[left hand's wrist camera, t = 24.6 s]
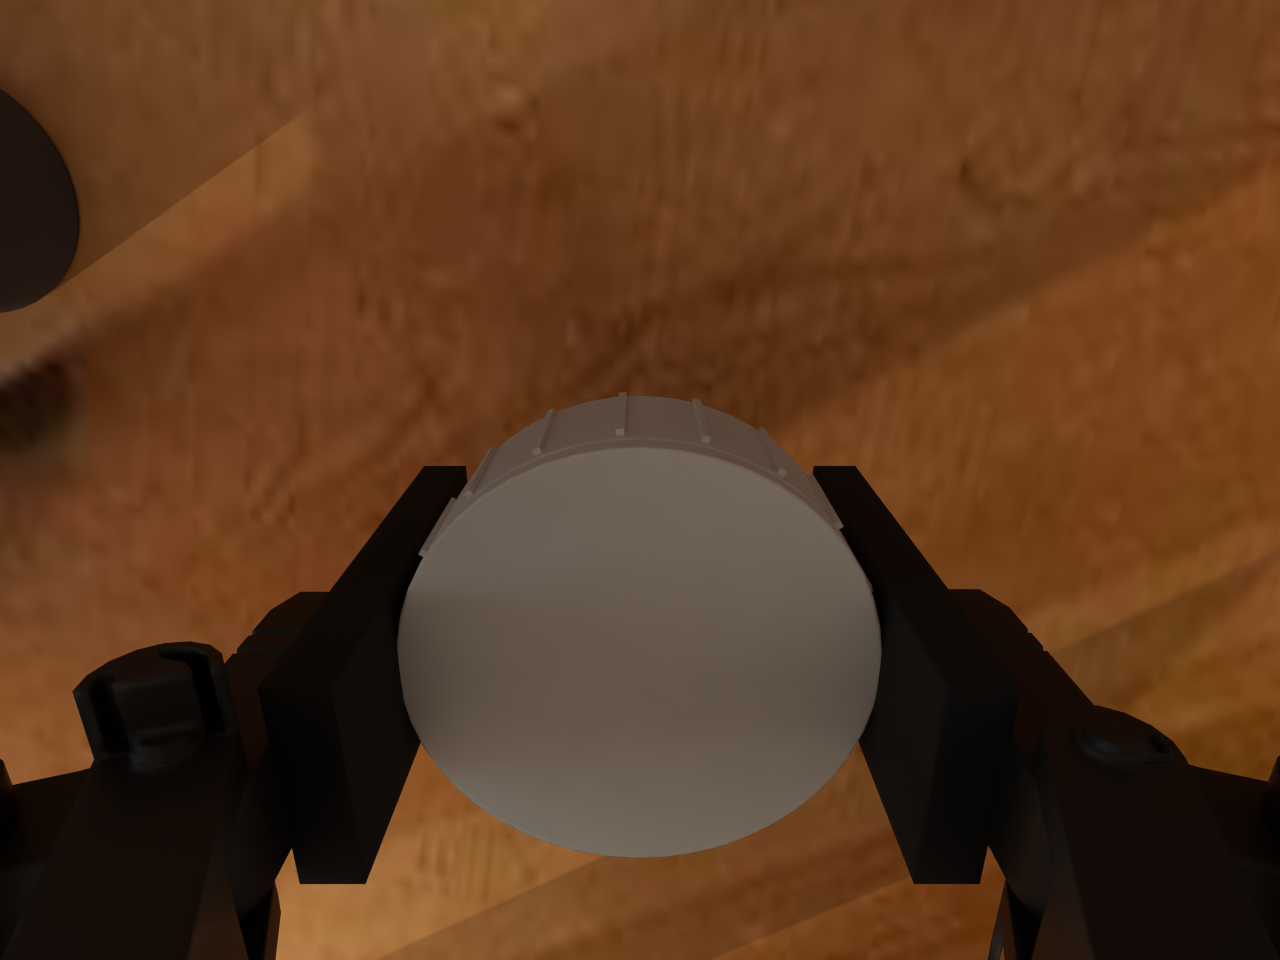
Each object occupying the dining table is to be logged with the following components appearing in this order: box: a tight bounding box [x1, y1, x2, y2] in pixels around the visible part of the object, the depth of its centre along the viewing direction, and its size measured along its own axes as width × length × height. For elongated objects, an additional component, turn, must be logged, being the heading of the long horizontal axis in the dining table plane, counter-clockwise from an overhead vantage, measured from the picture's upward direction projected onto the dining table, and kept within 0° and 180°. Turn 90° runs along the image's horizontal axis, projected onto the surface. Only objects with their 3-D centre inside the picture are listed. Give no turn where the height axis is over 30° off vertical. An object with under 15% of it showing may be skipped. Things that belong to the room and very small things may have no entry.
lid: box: [397, 392, 882, 858], centre depth 11 cm, size 6×6×2 cm
